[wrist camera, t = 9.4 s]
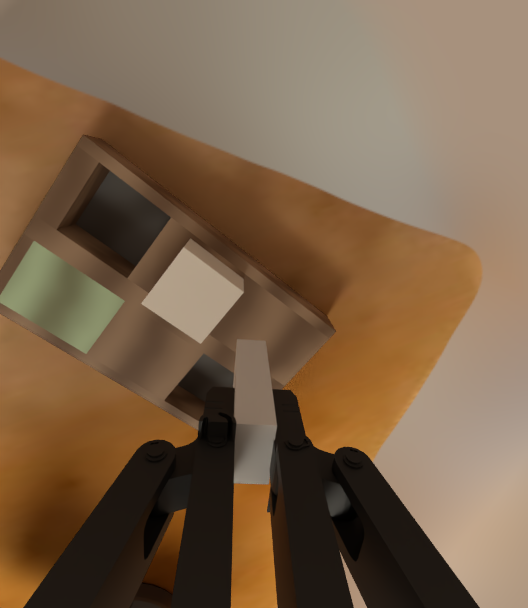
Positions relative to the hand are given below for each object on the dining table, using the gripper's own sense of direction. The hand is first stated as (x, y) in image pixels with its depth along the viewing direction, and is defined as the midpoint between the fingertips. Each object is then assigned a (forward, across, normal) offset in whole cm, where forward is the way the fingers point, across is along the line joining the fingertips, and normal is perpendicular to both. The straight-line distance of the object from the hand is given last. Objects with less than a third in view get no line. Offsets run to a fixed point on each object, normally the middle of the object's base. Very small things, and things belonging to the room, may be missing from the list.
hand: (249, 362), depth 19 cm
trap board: (+19, +7, +4) cm, 21 cm away
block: (+15, +4, +1) cm, 16 cm away
